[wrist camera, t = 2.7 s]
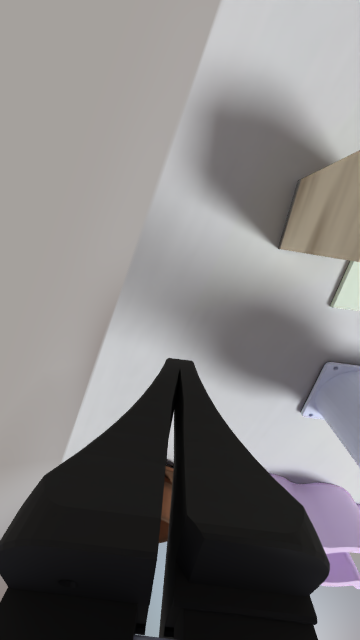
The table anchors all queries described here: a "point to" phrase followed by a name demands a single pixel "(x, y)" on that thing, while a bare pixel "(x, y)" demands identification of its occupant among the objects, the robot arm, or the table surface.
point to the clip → (331, 526)
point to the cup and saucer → (166, 505)
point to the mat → (349, 289)
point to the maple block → (326, 212)
